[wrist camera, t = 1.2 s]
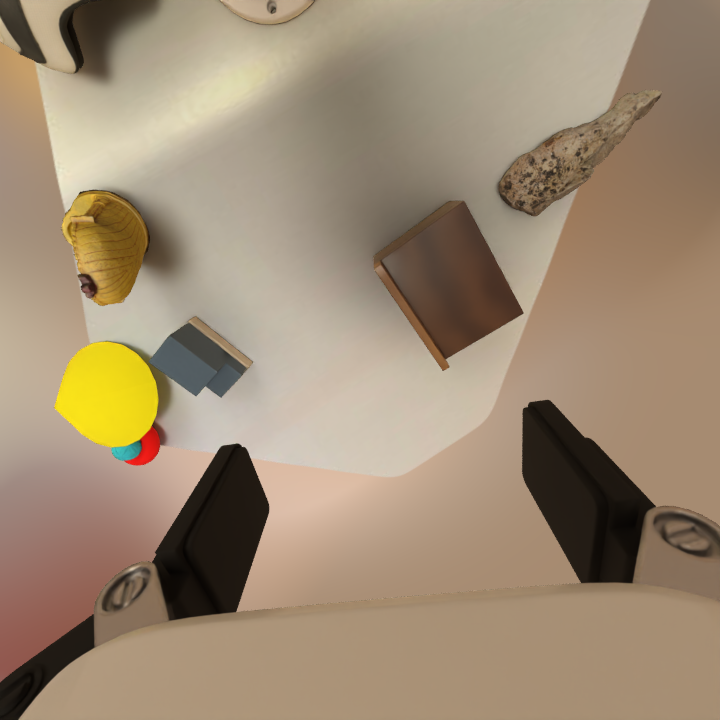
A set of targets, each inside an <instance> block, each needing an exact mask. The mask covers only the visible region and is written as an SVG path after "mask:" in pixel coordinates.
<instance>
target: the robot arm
mask: <svg viewBox="0 0 720 720" xmlns="http://www.w3.org/2000/svg"><path fill="white" fill-rule="evenodd" d="M313 1H314V0H220V2H222V3H223V4H224V5H225V6H226V7H227V8H229V9H230V10H231V11H232V12H233V13H235V14H237V15H239V16H241V17H242V18H244V19H246V20H249V21H252V22H256V23H259V24H277V23H282V22H286V21H288V20H290V19H292V18H294V17H296V16H298V15H300V14H301V13H302V12H303V11H304V10H306V9H307V8H308V7H309V6H310V5H311V4H312V2H313ZM272 9H276V12H275V13H273V14H272ZM522 447H523V448H522V449H523V450H522V457H523V458H522V459H523V460H522V472H523V473H522V474H523V478H524V481H525V483H526V485H527V487H528V489H529V491H530V492H531V494H532V496H533V498H534V500H535V501H536V503H537V505H538V507H539V509H540V510H541V512H542V514H543V516H544V517H545V519H546V521H547V523H548V525H549V526H550V528H551V530H552V532H553V534H554V535H555V537H556V539H557V541H558V542H559V544H560V546H561V548H562V550H563V551H564V553H565V555H566V557H567V559H568V560H569V562H570V564H571V566H572V568H573V569H574V571H575V573H576V575H577V577H578V578H579V580H580V582H581V583H577V584H562V585H545V586H530V587H515V588H503V589H491V590H479V591H466V592H455V593H443V594H430V595H418V596H407V597H395V598H384V599H372V600H361V601H350V602H339V603H327V604H316V605H306V606H296V607H285V608H275V609H263V610H254V611H242V612H236V611H237V608H238V605H239V602H240V599H241V596H242V593H243V590H244V587H245V584H246V581H247V578H248V575H249V571H250V569H251V566H252V562H253V559H254V556H255V553H256V550H257V547H258V544H259V541H260V538H261V535H262V532H263V529H264V526H265V523H266V520H267V517H268V514H269V503H268V501H267V498H266V495H265V493H264V490H263V488H262V485H261V483H260V481H259V478H258V476H257V473H256V471H255V468H254V466H253V463H252V461H251V458H250V456H249V453H248V451H247V449H246V448H245V447H242V446H241V445H240V444H231V445H224V446H221V447H220V449H219V450H218V452H217V454H216V455H215V457H214V458H213V460H212V462H211V463H210V465H209V467H208V468H207V470H206V471H205V473H204V475H203V476H202V478H201V479H200V481H199V482H198V484H197V486H196V487H195V489H194V491H193V492H192V494H191V495H190V497H189V499H188V500H187V502H186V503H185V505H184V507H183V508H182V510H181V512H180V513H179V515H178V516H177V518H176V520H175V521H174V523H173V524H172V526H171V528H170V529H169V531H168V532H167V534H166V536H165V537H164V539H163V540H162V542H161V544H160V545H159V547H158V549H157V550H156V552H155V553H156V556H155V558H154V560H153V561H152V563H151V562H149V561H148V562H139V563H136V564H133V565H131V566H129V567H127V568H125V569H124V570H122V571H121V572H120V573H118V574H117V575H115V576H114V577H113V578H112V579H111V580H110V581H109V582H108V583H107V584H106V585H105V587H104V588H103V589H102V591H101V592H100V594H99V596H98V597H97V599H96V601H95V606H94V614H93V615H92V616H90V617H89V618H87V619H86V620H85V621H83V622H82V623H80V624H79V625H78V626H76V627H75V628H73V629H72V630H71V631H69V632H68V633H67V634H65V635H64V636H62V637H61V638H59V639H58V640H57V641H55V642H54V643H52V644H51V645H50V646H48V647H47V648H46V649H44V650H43V651H41V652H40V653H38V654H37V655H36V656H34V657H33V658H31V659H30V660H29V661H27V662H26V663H24V664H23V665H22V666H20V667H19V668H18V669H16V670H15V671H14V672H12V673H11V674H10V675H9V676H8V677H6V678H5V679H4V680H3V681H1V682H0V720H720V526H719V525H718V524H716V523H715V522H713V521H712V520H710V519H708V518H707V517H705V516H703V515H701V514H699V513H696V512H694V511H691V510H689V509H684V508H680V507H676V506H660V507H656V506H655V505H654V504H653V503H652V502H651V501H650V500H649V499H648V498H647V497H646V495H645V494H644V493H643V492H642V491H641V490H640V489H639V488H638V487H637V486H636V485H635V484H634V483H633V482H632V481H631V480H630V479H629V478H628V477H627V476H626V474H625V473H624V472H623V471H622V470H621V469H620V468H619V467H618V466H617V465H616V464H615V463H614V462H613V461H612V460H611V459H610V458H609V457H608V455H607V454H606V453H605V452H604V451H603V450H602V449H601V448H600V447H599V446H598V445H597V444H596V443H595V442H594V441H593V440H591V439H590V438H585V437H584V436H583V435H582V434H581V433H580V432H579V431H578V430H577V429H576V428H575V427H574V426H573V425H572V424H571V422H570V421H569V420H568V419H567V418H566V417H565V416H564V415H563V414H562V413H561V412H560V410H559V409H558V408H557V407H556V406H555V405H554V404H553V403H552V402H551V401H550V400H543V401H535V402H530V403H529V404H528V407H526V408H524V409H523V443H522Z"/></svg>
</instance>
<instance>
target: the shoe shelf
mask: <svg viewBox="0 0 720 720" xmlns="http://www.w3.org/2000/svg"><path fill="white" fill-rule="evenodd" d="M373 261H374V270H375V272H376V273H377V275H378V276H379V278H380V279H381V280H382V282H383V283H384V285H385V286H386V288H387V289H388V291H389V292H390V294H391V295H392V297H393V298H394V300H395V301H396V303H397V304H398V305H399V307H400V308H401V310H402V311H403V313H404V314H405V316H406V317H407V319H408V320H409V322H410V323H411V325H412V326H413V328H414V329H415V330H416V332H417V333H418V335H419V336H420V338H421V339H422V341H423V342H424V344H425V345H426V347H427V348H428V350H429V351H430V352H431V354H432V355H433V357H434V358H435V360H436V361H437V363H438V364H439V366H440V367H441V369H442V370H443V371H444V370H446V369H447V368H449V365H448V363H447V361H446V359H447V358H448V357H450V356H452V355H454V354H455V353H457V352H459V351H460V350H462V349H464V348H465V347H467V346H469V345H471V344H472V343H474V342H476V341H477V340H479V339H481V338H483V337H484V336H486V335H488V334H489V333H491V332H493V331H494V330H496V329H498V328H500V327H501V326H503V325H505V324H506V323H508V322H510V321H511V320H513V319H515V318H517V317H518V316H520V315H522V314H523V311H522V309H521V307H520V305H519V303H518V301H517V299H516V297H515V296H514V294H513V292H512V290H511V288H510V286H509V284H508V282H507V281H506V279H505V277H504V275H503V273H502V271H501V269H500V267H499V265H498V264H497V262H496V260H495V258H494V256H493V254H492V252H491V250H490V248H489V247H488V245H487V243H486V241H485V239H484V237H483V235H482V233H481V232H480V230H479V228H478V226H477V224H476V222H475V220H474V218H473V216H472V215H471V213H470V211H469V209H468V207H467V205H466V203H465V201H449V202H448V203H446V204H445V205H443V206H442V207H441V208H439V209H438V210H436V211H435V212H434V213H432V214H431V215H430V216H428V217H427V218H425V219H424V220H423V221H421V222H420V223H419V224H417V225H416V226H414V227H413V228H412V229H410V230H409V231H408V232H406V233H405V234H403V235H402V236H401V237H399V238H398V239H396V240H395V241H394V242H392V243H391V244H390V245H388V246H387V247H385V248H384V249H383V250H381V251H380V252H379V253H377V254H376V255H374V256H373Z"/></svg>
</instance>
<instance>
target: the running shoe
mask: <svg viewBox="0 0 720 720" xmlns="http://www.w3.org/2000/svg"><path fill="white" fill-rule="evenodd" d="M93 1H98V0H0V42H1V43H3V44H5V45H7V46H8V47H10V48H11V49H13V50H15V51H16V52H18V53H20V55H23V56H25V57H27V58H29V59H32V60H34V61H35V62H37V63H41V64H42V65H44V66H46V67H48V68H50V69H53V70H58V71H62V72H65V73H76V72H78V71H79V68H82V66H83V64H84V59H83V55H82V52H81V49H80V45H79V42H78V39H77V36H76V33H75V30H74V27H73V23H72V21H73V13H74V10H76V9H77V8H78V7H79V6H81V5H83V4H86V3H88V2H93Z"/></svg>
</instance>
